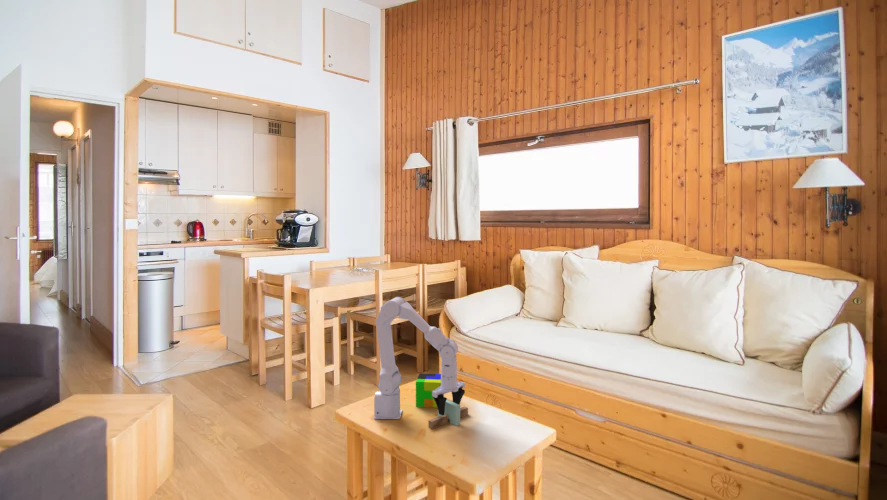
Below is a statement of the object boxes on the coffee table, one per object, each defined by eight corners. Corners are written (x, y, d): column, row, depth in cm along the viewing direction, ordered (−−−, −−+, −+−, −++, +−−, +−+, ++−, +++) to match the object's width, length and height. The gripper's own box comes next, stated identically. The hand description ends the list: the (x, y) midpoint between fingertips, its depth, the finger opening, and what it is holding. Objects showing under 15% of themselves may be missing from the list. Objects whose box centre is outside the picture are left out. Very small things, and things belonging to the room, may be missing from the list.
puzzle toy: (443, 397, 191) (443, 374, 190) (441, 407, 181) (441, 382, 180) (419, 397, 192) (419, 373, 191) (415, 406, 182) (415, 381, 181)
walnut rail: (431, 429, 162) (431, 421, 162) (428, 427, 163) (428, 420, 163) (467, 414, 174) (467, 407, 174) (464, 412, 176) (464, 406, 175)
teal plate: (460, 424, 166) (460, 405, 165) (456, 425, 165) (456, 406, 164) (441, 415, 173) (441, 397, 173) (437, 417, 172) (437, 398, 171)
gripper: (441, 382, 160) (441, 420, 161) (470, 373, 170) (470, 409, 171) (428, 377, 165) (428, 414, 166) (457, 368, 175) (457, 403, 176)
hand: (448, 411), depth 169 cm, fingers open, 7 cm apart
